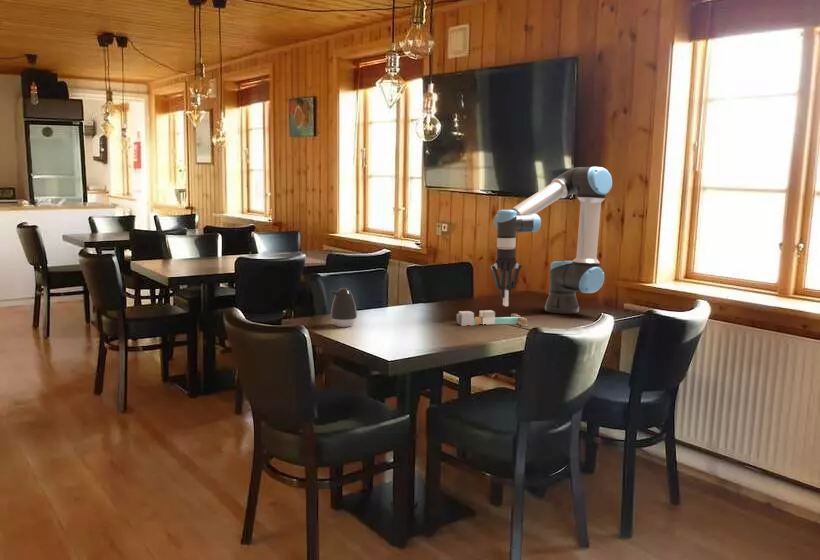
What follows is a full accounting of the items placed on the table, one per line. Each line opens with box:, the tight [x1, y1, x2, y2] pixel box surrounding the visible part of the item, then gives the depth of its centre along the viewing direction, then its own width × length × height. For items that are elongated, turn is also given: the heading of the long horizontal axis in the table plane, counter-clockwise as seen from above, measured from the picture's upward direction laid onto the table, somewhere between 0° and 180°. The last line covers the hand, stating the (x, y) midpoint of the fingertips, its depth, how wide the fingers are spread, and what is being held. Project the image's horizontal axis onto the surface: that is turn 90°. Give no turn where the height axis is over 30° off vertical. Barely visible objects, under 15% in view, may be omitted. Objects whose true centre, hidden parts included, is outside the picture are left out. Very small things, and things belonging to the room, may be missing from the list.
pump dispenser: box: [330, 287, 358, 328], centre depth 279 cm, size 10×10×15 cm
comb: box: [510, 313, 529, 327], centre depth 292 cm, size 2×14×3 cm, turn 11°
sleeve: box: [478, 309, 496, 326], centre depth 289 cm, size 5×5×5 cm
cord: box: [456, 310, 518, 327], centre depth 289 cm, size 27×5×5 cm, turn 101°
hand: (505, 305), depth 290 cm, fingers closed
